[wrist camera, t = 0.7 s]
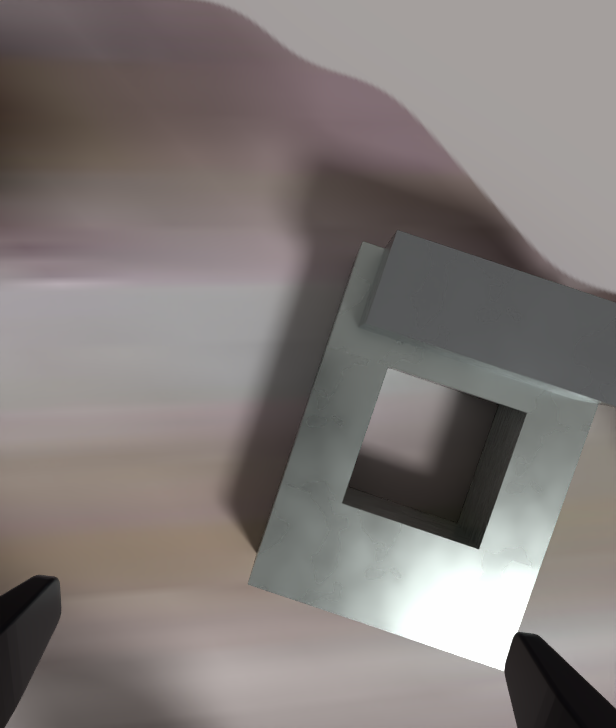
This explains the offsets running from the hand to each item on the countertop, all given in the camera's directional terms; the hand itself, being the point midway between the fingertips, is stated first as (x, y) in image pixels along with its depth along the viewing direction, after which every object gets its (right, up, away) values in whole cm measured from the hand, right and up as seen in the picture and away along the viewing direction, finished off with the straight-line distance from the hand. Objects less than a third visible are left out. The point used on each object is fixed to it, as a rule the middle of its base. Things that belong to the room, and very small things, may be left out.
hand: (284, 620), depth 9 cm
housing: (+6, +1, +14) cm, 15 cm away
